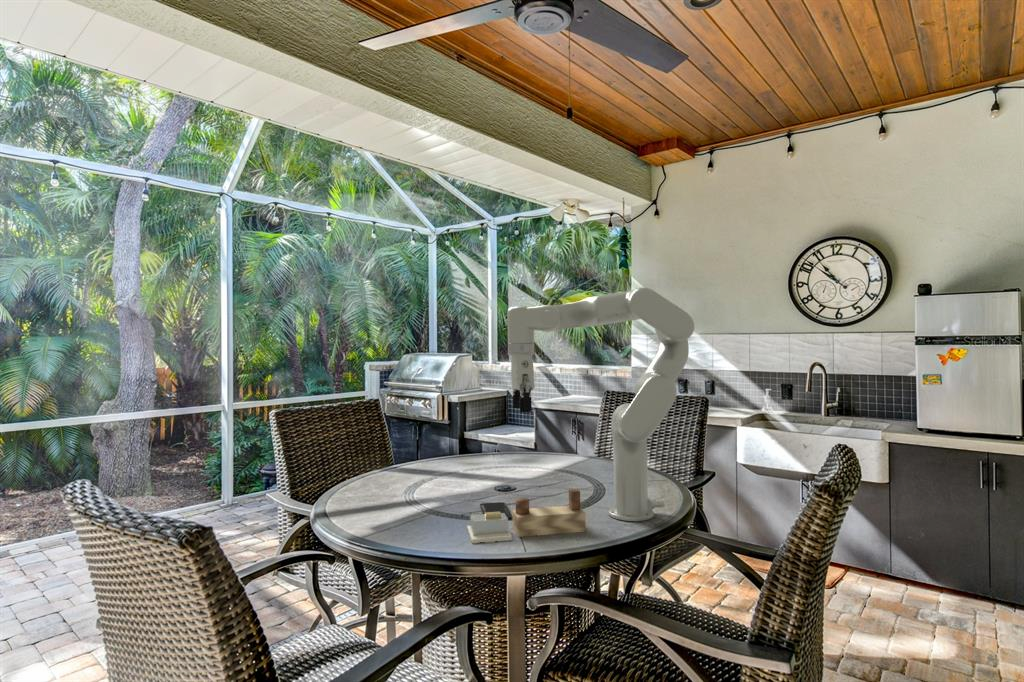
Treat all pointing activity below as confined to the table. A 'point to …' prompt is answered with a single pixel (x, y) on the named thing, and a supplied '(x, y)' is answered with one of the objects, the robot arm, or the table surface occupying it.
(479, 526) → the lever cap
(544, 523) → the body
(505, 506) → the phone
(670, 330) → the robot arm
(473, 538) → the felt mat
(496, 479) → the table surface
